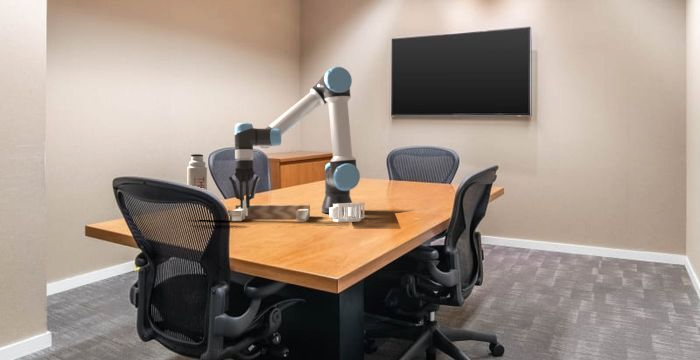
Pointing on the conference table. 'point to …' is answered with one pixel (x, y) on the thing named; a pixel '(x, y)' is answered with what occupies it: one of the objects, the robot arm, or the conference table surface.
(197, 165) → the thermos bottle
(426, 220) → the conference table surface
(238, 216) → the folding leg
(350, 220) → the car outline toy
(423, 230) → the conference table surface
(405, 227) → the conference table surface
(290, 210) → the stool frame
